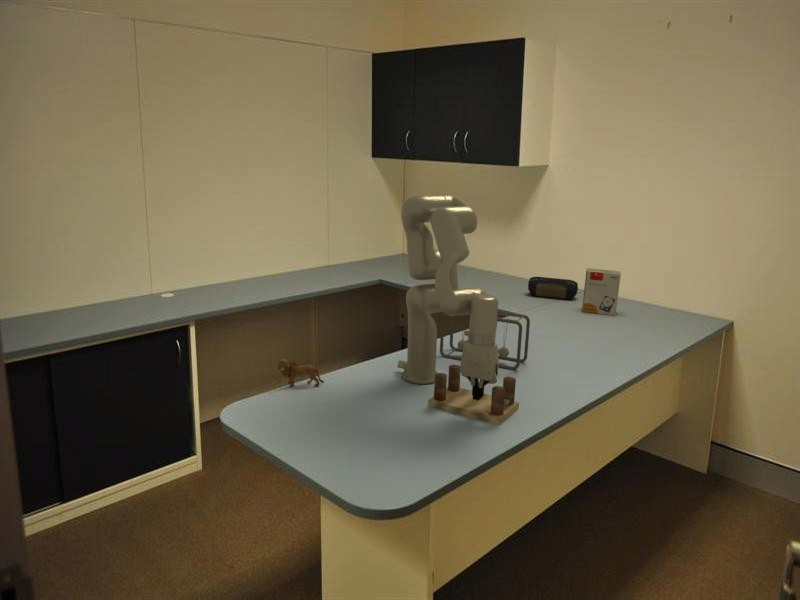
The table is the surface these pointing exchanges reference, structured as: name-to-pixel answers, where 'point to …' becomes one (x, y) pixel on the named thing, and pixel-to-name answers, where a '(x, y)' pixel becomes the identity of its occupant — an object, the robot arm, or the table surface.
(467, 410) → the stool seat
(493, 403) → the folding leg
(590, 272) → the hard drive box
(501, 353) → the newton's cradle
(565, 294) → the portable speaker
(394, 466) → the table surface
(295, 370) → the lion figurine
